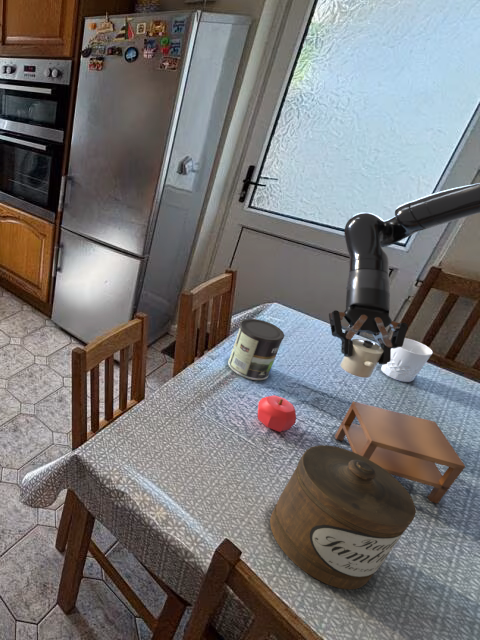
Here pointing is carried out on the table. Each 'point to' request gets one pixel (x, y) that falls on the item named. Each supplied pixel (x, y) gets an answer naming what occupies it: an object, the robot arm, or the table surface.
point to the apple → (276, 413)
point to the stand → (402, 446)
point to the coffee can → (255, 349)
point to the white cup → (407, 360)
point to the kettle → (362, 358)
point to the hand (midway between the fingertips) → (365, 359)
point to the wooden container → (340, 516)
